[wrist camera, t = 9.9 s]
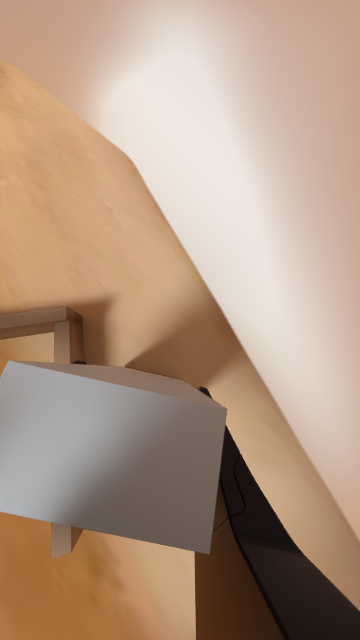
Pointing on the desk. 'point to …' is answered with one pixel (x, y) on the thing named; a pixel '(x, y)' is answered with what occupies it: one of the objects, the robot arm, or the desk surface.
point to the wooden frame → (65, 351)
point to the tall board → (110, 451)
